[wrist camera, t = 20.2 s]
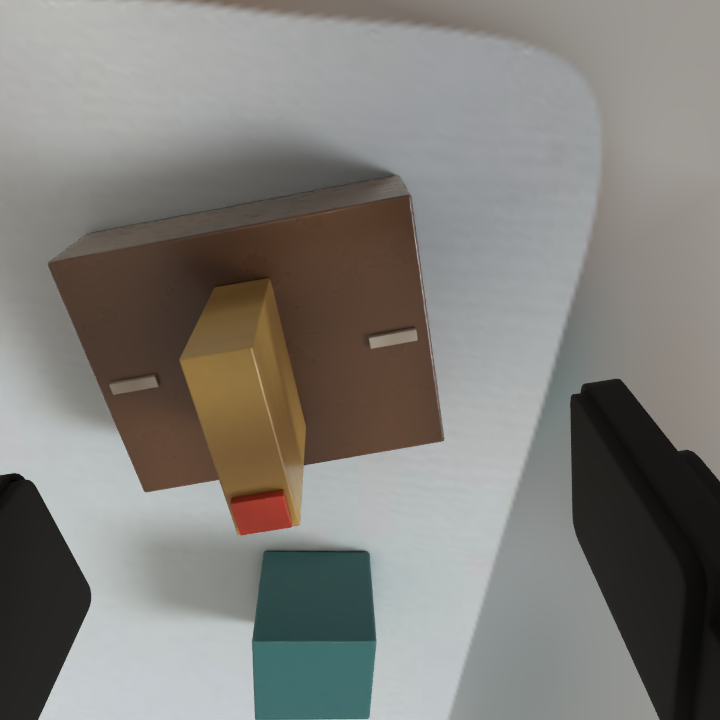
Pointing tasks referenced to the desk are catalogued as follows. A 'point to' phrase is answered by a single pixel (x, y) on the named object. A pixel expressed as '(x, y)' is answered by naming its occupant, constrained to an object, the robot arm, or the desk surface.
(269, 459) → the thumb turn
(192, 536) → the desk surface
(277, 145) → the desk surface
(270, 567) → the key block
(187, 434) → the lock plate
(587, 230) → the desk surface
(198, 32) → the desk surface
